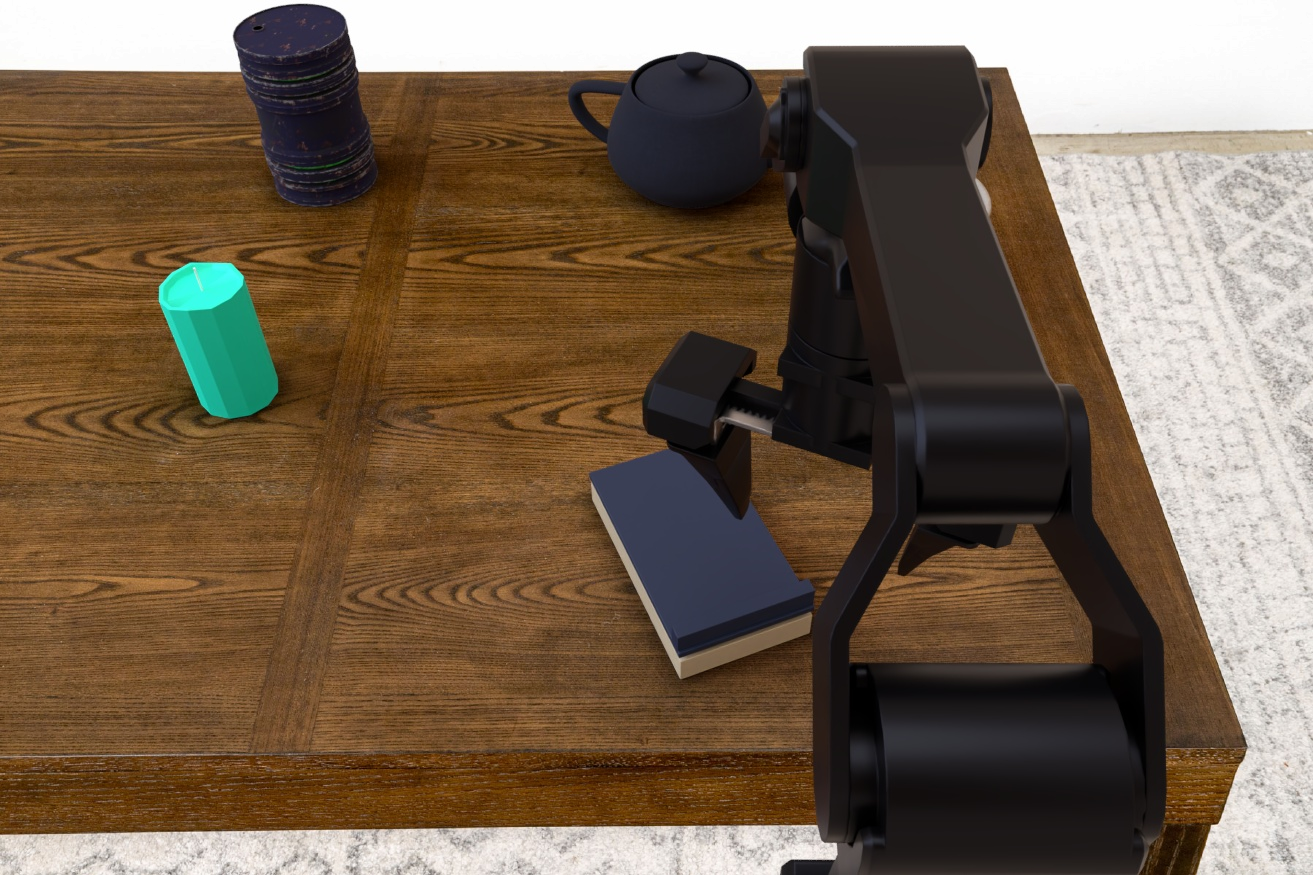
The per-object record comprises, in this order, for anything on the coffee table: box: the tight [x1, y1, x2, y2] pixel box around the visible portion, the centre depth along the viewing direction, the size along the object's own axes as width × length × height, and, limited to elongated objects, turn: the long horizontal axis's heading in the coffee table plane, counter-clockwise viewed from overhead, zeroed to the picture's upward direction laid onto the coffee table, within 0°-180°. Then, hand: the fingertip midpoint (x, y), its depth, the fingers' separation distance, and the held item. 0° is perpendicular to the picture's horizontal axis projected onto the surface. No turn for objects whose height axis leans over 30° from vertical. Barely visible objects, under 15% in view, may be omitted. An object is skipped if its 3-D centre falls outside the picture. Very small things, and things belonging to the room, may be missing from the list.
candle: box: [158, 262, 279, 419], centre depth 86 cm, size 6×6×12 cm
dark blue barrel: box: [232, 3, 379, 208], centre depth 105 cm, size 10×10×15 cm
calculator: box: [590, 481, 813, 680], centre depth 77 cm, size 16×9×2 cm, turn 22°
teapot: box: [567, 51, 773, 210], centre depth 106 cm, size 25×16×12 cm, turn 75°
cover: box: [588, 448, 817, 658], centre depth 76 cm, size 16×9×2 cm, turn 22°
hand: (820, 540), depth 63 cm, fingers open, 9 cm apart
